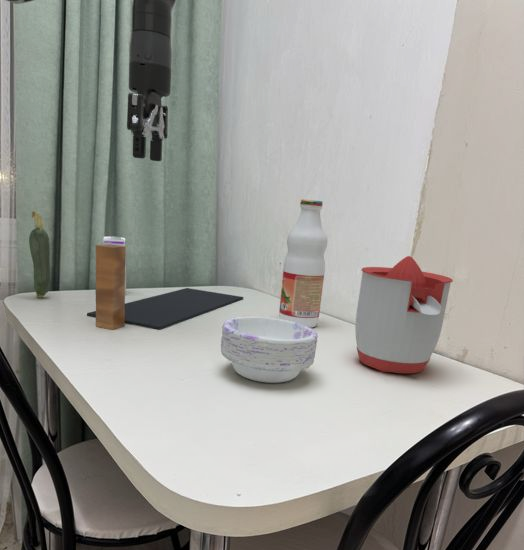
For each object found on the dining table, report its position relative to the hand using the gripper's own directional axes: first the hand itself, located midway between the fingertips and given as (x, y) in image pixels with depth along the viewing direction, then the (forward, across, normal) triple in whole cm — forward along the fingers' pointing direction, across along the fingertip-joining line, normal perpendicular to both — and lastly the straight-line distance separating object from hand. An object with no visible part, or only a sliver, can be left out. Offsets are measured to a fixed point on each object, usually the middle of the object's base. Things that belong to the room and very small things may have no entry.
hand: (147, 159), depth 97 cm
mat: (+33, -20, +1) cm, 38 cm away
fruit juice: (+33, -17, +31) cm, 48 cm away
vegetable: (+33, -11, -30) cm, 46 cm away
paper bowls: (+32, +22, +30) cm, 48 cm away
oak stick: (+32, +6, -5) cm, 33 cm away
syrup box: (+34, -27, -18) cm, 47 cm away
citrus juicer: (+32, +8, +51) cm, 61 cm away
